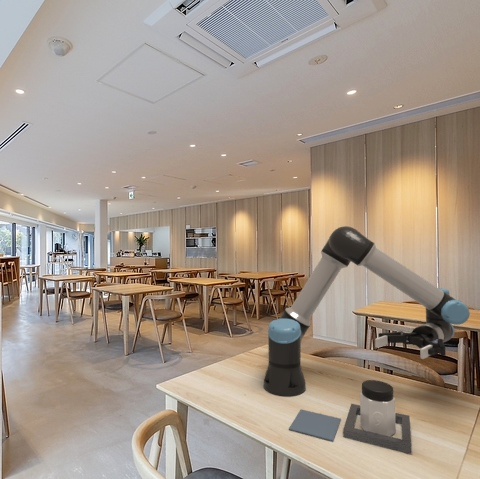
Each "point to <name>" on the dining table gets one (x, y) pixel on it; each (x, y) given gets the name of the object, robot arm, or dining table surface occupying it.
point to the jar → (377, 408)
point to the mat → (315, 425)
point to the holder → (379, 439)
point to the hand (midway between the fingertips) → (397, 348)
